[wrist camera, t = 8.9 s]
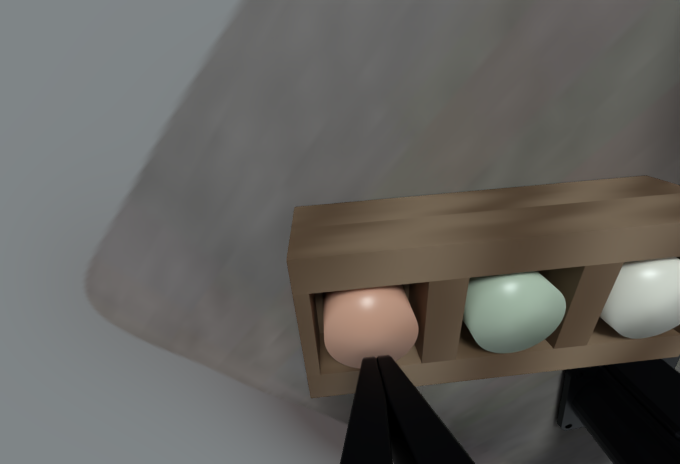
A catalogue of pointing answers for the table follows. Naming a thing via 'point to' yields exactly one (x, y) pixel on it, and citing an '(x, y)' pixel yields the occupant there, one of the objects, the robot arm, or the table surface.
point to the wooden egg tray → (484, 271)
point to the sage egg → (512, 310)
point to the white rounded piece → (645, 298)
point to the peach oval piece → (368, 324)
